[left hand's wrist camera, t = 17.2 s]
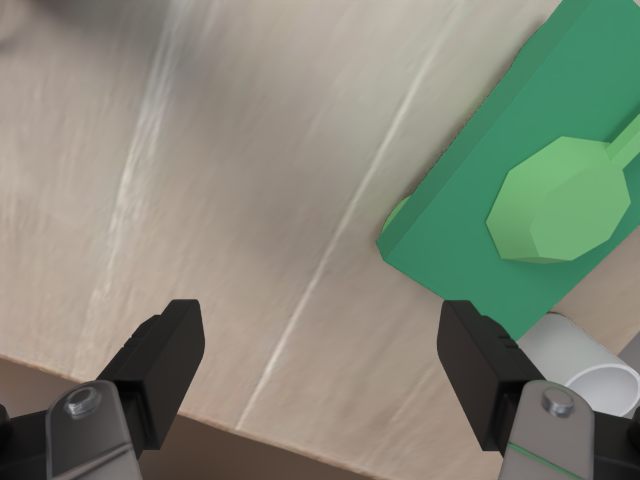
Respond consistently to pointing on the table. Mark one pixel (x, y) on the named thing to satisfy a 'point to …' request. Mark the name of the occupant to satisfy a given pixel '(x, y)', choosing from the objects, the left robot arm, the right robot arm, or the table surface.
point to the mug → (581, 364)
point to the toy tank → (534, 173)
